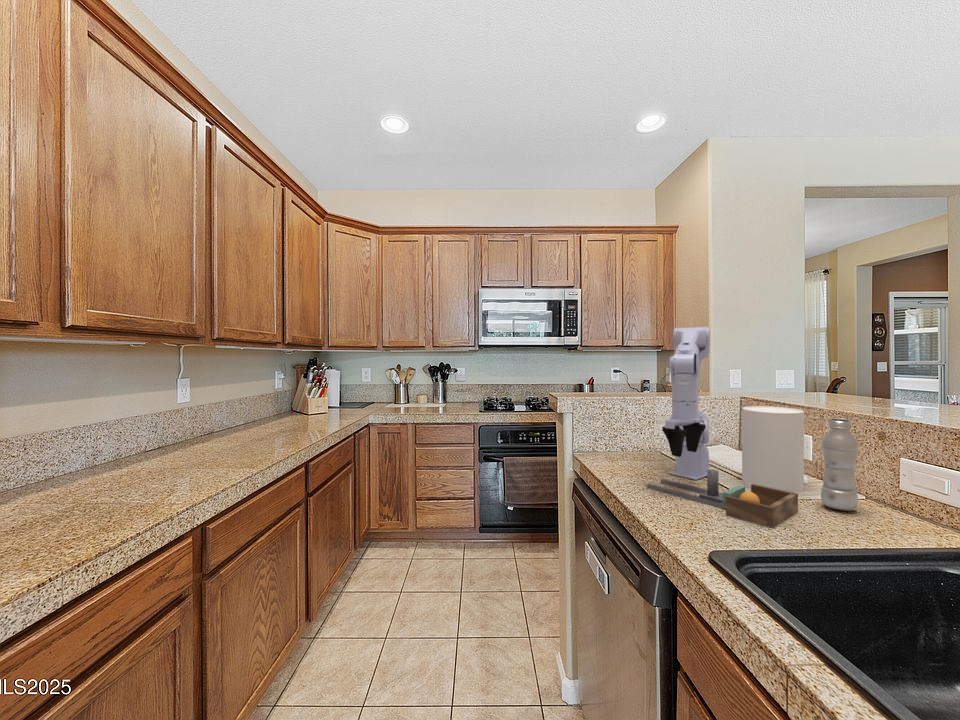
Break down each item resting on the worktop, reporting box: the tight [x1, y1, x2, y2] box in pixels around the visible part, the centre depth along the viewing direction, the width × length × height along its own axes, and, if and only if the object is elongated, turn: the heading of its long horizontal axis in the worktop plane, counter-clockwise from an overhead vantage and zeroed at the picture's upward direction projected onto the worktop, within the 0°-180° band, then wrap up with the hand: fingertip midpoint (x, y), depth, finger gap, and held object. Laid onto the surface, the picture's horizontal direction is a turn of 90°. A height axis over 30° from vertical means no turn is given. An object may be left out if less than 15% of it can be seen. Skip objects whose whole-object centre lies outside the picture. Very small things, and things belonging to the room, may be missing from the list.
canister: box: [741, 405, 805, 494], centre depth 114 cm, size 14×14×20 cm
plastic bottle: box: [820, 418, 859, 512], centre depth 96 cm, size 6×7×20 cm
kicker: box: [698, 469, 746, 504], centre depth 102 cm, size 8×8×7 cm
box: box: [725, 484, 799, 528], centre depth 95 cm, size 14×9×4 cm, turn 127°
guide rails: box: [646, 478, 726, 510], centre depth 107 cm, size 7×20×1 cm, turn 37°
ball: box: [739, 491, 760, 503], centre depth 97 cm, size 4×4×4 cm
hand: (684, 453), depth 110 cm, fingers open, 7 cm apart
